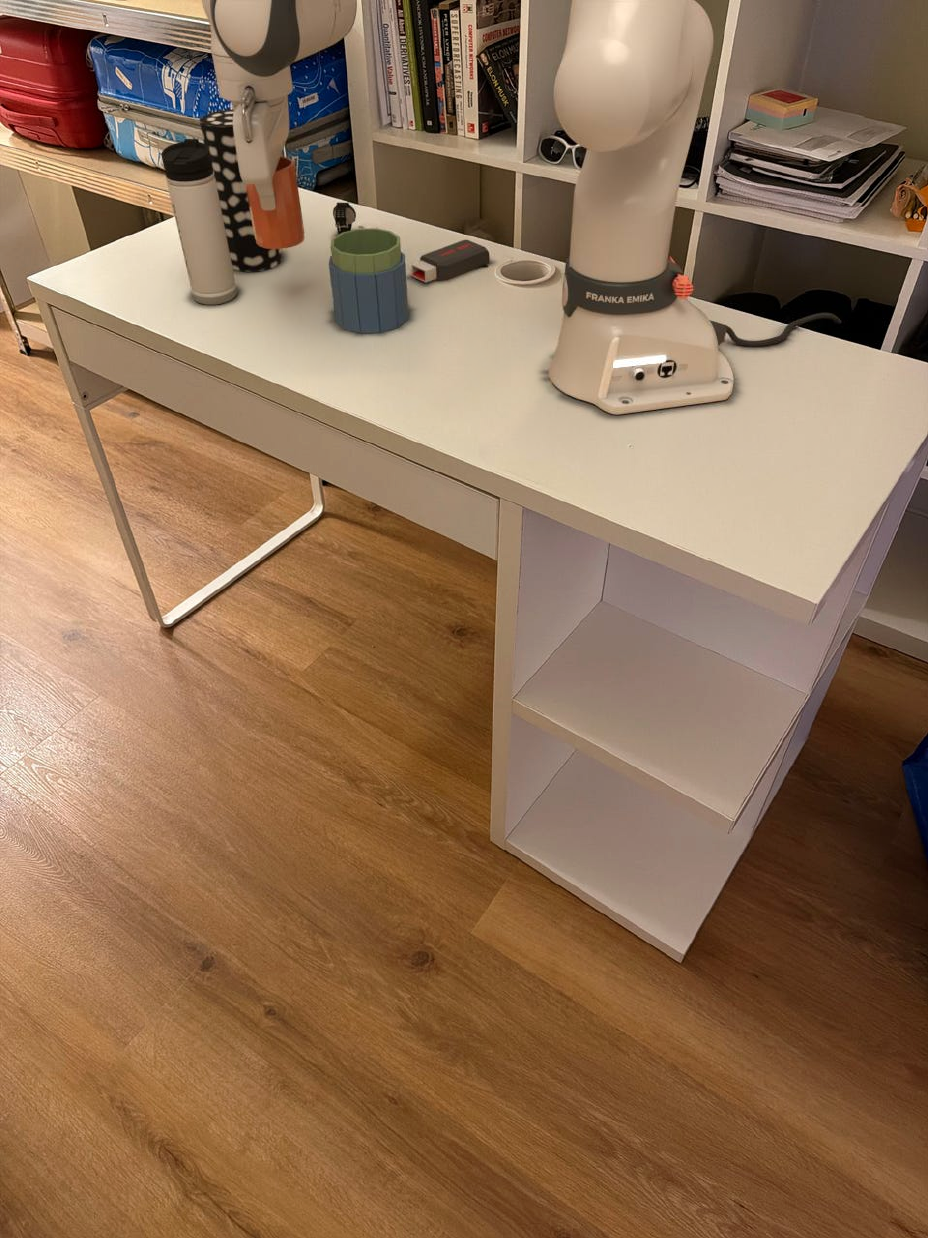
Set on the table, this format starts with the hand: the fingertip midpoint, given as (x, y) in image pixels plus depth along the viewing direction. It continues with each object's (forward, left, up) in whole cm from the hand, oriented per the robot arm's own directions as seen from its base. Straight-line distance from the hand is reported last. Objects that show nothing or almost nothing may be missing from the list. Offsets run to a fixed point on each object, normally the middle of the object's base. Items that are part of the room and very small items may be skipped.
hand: (273, 197), depth 118 cm
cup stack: (-12, +4, -15) cm, 19 cm away
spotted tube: (+7, -16, -15) cm, 23 cm away
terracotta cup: (0, 0, -5) cm, 5 cm away
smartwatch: (-6, -25, -15) cm, 30 cm away
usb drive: (-23, -11, -15) cm, 29 cm away
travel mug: (+11, -4, -15) cm, 19 cm away
